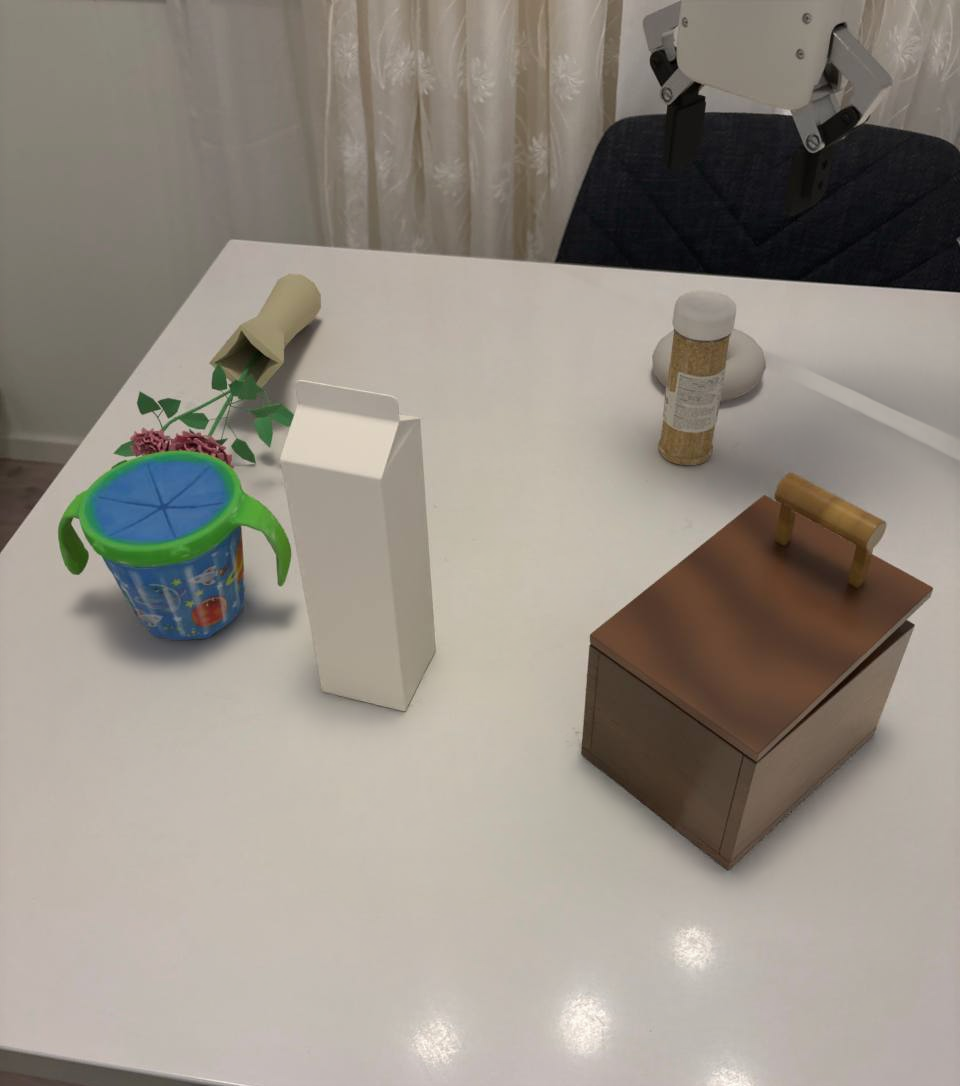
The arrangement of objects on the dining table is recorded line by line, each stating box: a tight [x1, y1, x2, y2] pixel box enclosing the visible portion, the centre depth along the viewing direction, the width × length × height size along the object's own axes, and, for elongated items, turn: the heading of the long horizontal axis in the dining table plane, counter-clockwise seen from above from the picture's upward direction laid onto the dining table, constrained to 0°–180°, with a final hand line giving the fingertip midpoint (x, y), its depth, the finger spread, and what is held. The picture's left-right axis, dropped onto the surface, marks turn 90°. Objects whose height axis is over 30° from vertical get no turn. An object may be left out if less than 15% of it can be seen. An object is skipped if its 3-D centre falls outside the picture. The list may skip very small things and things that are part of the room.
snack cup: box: [57, 451, 292, 641], centre depth 74 cm, size 16×10×10 cm
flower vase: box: [110, 273, 322, 470], centre depth 91 cm, size 12×12×35 cm
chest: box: [580, 619, 916, 871], centre depth 64 cm, size 15×12×10 cm
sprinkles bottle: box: [658, 289, 737, 466], centre depth 85 cm, size 5×5×14 cm
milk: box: [279, 379, 437, 712], centre depth 65 cm, size 6×6×22 cm
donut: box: [651, 328, 767, 402], centre depth 96 cm, size 10×4×10 cm
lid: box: [589, 472, 934, 762], centre depth 58 cm, size 15×12×6 cm
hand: (738, 185), depth 70 cm, fingers open, 9 cm apart
